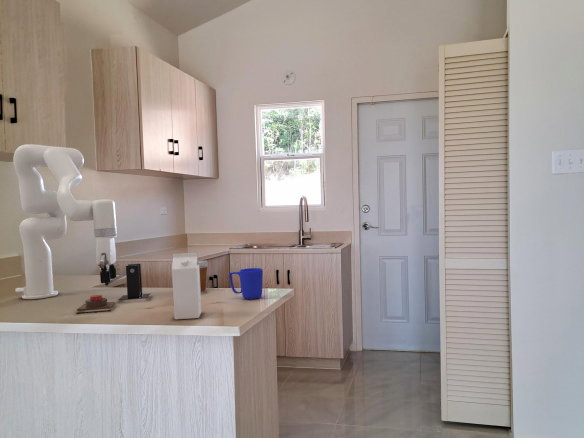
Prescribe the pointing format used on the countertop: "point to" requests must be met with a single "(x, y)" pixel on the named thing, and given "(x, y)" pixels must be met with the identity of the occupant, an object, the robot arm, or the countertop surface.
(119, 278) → the lever
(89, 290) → the countertop surface
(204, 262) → the disposable coffee cup
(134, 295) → the black lever base
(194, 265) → the milk carton
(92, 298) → the button
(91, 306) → the button block
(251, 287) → the mug
